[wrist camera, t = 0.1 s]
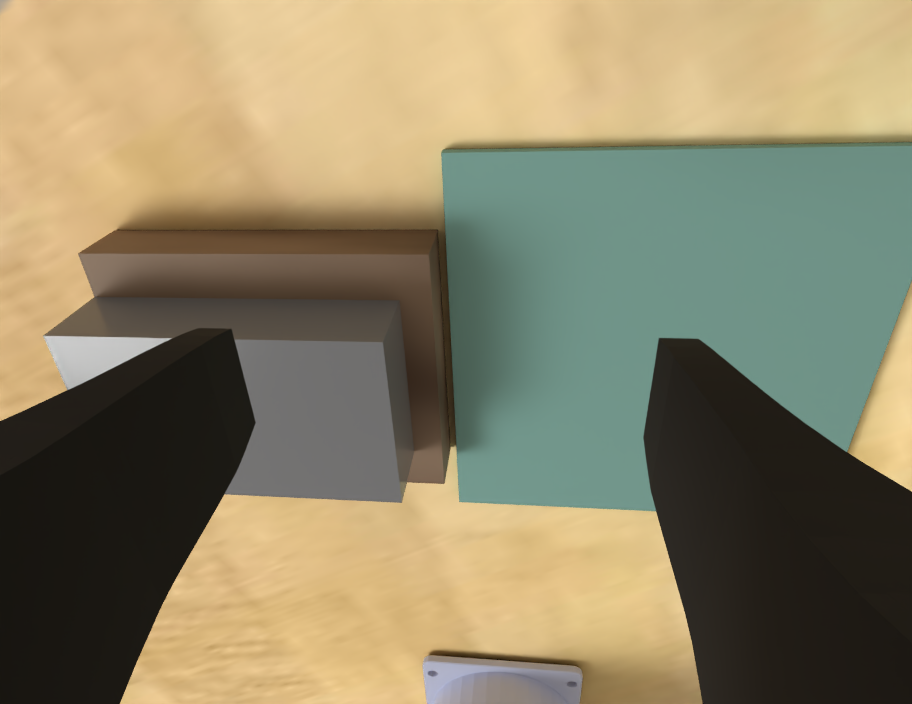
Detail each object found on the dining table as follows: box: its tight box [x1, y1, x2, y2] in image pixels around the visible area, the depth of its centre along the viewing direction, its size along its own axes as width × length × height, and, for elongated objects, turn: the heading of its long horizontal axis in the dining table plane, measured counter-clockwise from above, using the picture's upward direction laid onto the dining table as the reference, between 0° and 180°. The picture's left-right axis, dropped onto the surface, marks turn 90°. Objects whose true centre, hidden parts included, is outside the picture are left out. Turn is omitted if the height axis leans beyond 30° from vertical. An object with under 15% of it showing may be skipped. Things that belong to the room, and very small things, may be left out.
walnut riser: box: [78, 230, 450, 484], centre depth 22 cm, size 9×11×2 cm
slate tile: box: [43, 297, 414, 503], centre depth 20 cm, size 6×10×2 cm, turn 92°
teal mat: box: [441, 142, 912, 511], centre depth 21 cm, size 14×14×1 cm
